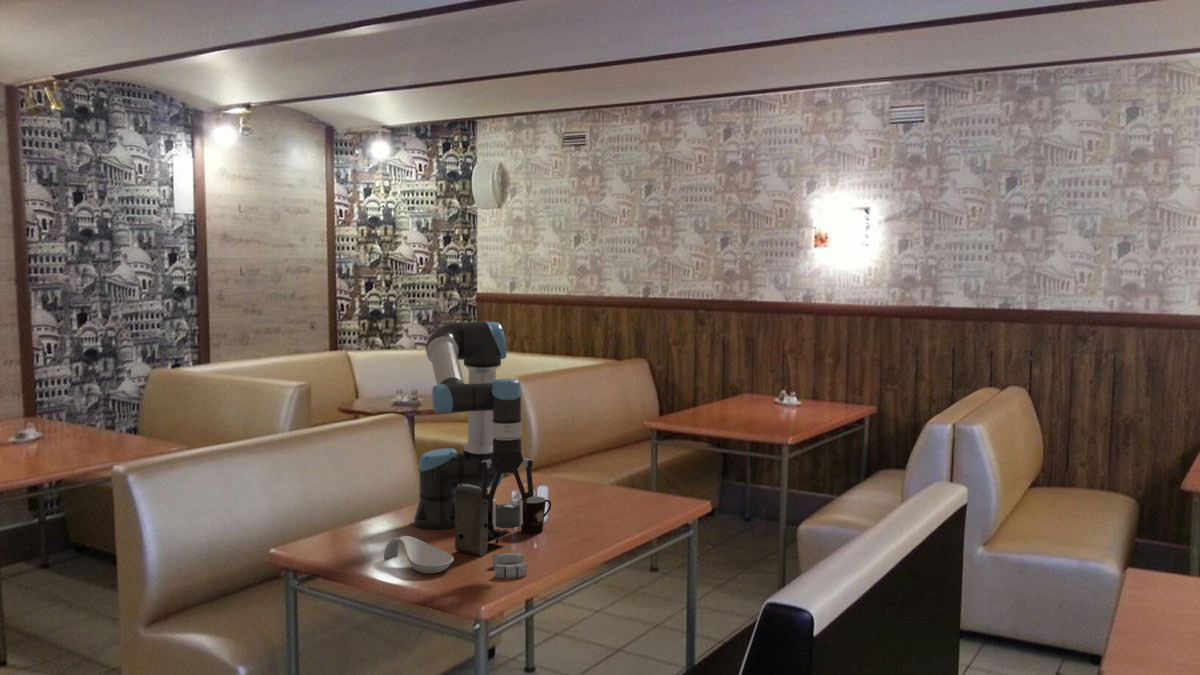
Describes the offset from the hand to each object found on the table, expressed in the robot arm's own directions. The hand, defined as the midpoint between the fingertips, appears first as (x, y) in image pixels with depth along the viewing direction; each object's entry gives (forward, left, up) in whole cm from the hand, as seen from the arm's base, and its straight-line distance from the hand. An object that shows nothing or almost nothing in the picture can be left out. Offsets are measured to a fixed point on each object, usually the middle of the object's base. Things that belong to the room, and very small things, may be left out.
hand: (507, 523), depth 241 cm
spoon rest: (-9, -24, -13) cm, 29 cm away
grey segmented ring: (0, 0, -13) cm, 13 cm away
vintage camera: (-22, -6, -13) cm, 26 cm away
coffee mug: (-37, +11, -13) cm, 41 cm away
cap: (+1, 0, 0) cm, 1 cm away
